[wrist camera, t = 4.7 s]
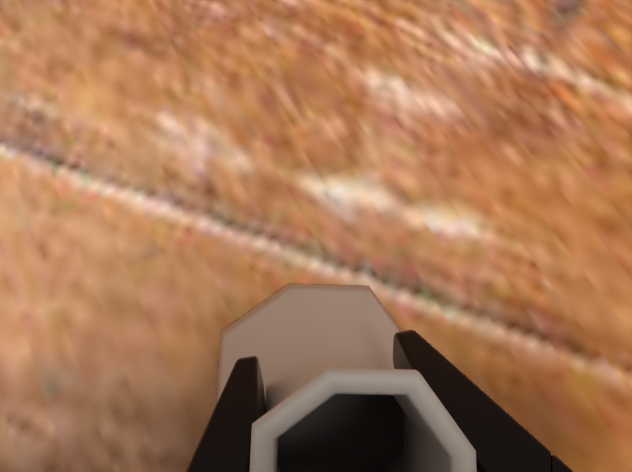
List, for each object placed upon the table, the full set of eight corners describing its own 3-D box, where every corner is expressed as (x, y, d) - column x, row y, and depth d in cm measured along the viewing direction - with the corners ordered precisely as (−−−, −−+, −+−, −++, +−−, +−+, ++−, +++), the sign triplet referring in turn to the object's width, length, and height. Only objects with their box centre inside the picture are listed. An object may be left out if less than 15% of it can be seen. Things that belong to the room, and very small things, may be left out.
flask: (244, 528, 15) (155, 943, 5) (190, 313, 16) (28, 305, 6) (449, 455, 16) (723, 691, 6) (383, 256, 17) (516, 164, 7)
